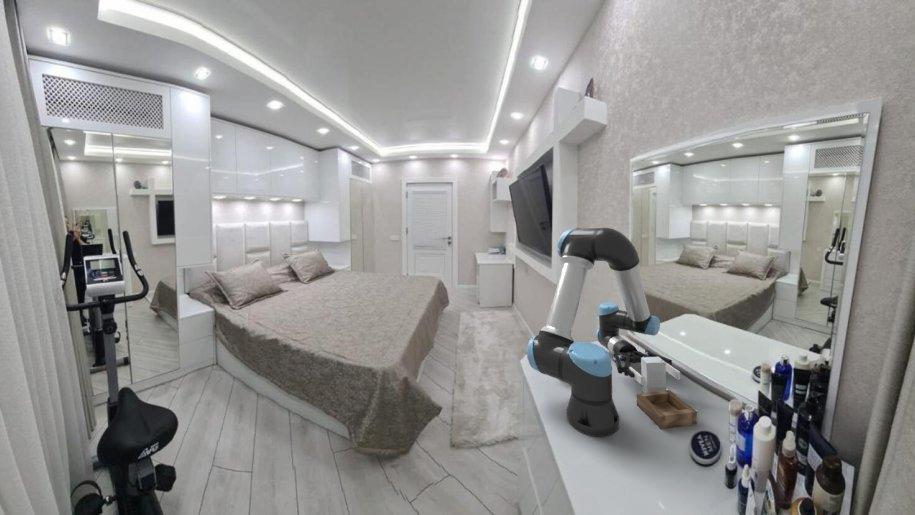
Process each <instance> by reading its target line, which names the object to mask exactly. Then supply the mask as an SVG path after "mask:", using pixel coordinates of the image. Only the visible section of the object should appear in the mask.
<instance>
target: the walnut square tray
mask: <svg viewBox="0 0 915 515" xmlns="http://www.w3.org/2000/svg"><path fill="white" fill-rule="evenodd" d="M636 406H637V408H639V409H640V410H641V411H642V413H644V414H645V415H646V417H648V418H649V419H650V420H651V421H652V422H653V423H654V424H655V425H656V426H657V427H658V428H659V429H660V430H663V429H670V428H676V427H677V428H678V427H685V426H693V425H697V424H698V411H697V410H696V409H695V408H693V407H692V406H690V404H688V403H687V402H686V401H684V400H683V399H682V398H681V397H679V396H678V395H677V394H675V393H674V392H673V391H672V390H670V389H666V390H665V391H657V392H649V393H645V392H644V393H637V394H636Z"/></svg>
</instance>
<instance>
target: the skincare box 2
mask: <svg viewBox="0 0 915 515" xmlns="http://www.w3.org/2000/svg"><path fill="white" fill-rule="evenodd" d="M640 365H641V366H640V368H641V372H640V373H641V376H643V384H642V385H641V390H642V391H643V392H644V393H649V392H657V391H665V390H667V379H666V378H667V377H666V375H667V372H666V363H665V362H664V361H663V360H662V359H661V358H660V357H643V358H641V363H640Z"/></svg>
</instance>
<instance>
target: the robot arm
mask: <svg viewBox="0 0 915 515" xmlns="http://www.w3.org/2000/svg"><path fill="white" fill-rule="evenodd" d="M557 248H558V249H557V253H558V256H559V258H560V259H559V260H560V262H561V263H562V268H561V272H560V274H559V278H558V282H557V286H556V289H555V291H554V295H553V296H554V297H553V299H552V302H551V307H550V309H549V312H548V316H547V319H546V324H545V326H543V327H544V328H543V327H542V328H540V329H539V331H538V334H536V335H533V336H532V337H531V338H530V339H529V341H528V343H527V348H526V358H527V361H528V364H529V366H530V367H531V368H532V370H535V371H537V372H539V374H543V375H546V376H549V377H552V378H554V379H557V380H560V381H562V382H564V383H567V384H569V385H570V391H571V394H570V397H569V400H568V401H567V406H566V419H567V422H568V423H569V425H570V426H572V428H574V429H575V430H577V431H578V432H580V433H583V434H584V435H588V436H593V437H607V436H611V435H613V434H615V433H616V432H617V431H619V428H620V424H621V422H620V414H619V412H618V410H617V407H616V404H615V401H614V400H613V366H612V361H613V362H614V363H615V366H616V368H617V373H618V374H621V375H622V373H623V374H624V376H626V377H628V376H629V378H631V379H634V380H635V381H636V382H637V383H638V384H639V385H640V386H642V384H643V376H642V374H640V373H639V372H638V371H637V370H635V368H633V367H632V366H631V364H637V363H639V364H641V358H643V357H660V358H661V359H662V360H663V361H664V362H665V363H666V373H668V374H669V375H671V376H673V378H675V379H676V380H681V371H680V370H678V369H676V367H675V366H673V360H672V359H670V358H667V357H665V356H663V355H659V354H656V353H654V352H652V351H650V350H644V351H643V352H642V351H639V350H638V349H637V348H636V347H635V345H633V344H632V343H630V341H628V340H627V339H625V338H624V337H622V336H620V329H621V330H624V331H629V332H633V333H636V334H637V333H638V334H641V335H648V336H654V337H655V336H656V335H658V333H659V331H660V329H661V328H660V327H661V321H660V318H659V317H658V316H655V315H652V314H651V312H650V308H649V304H648V302H647V301H648V300H647V297H646V293H645V290H644V286H643V282H642V278H641V275H640V271H639V267H638V266H639V264H640V258H639V253H638V251H637V249H636V247H635V245H634V244H633V243H632V241H631V240H630V239H629V238H628V237H627V236H626V235H624V234H623V233H622V232H621V231H619V230H616V229H614V228H611V227H595V228H594V227H593V228H591V227H589V228H588V227H587V228H586V227H585V228H582V227H581V228H580V227H576V228H569V229H567V230H565V231H564V232H563V233H561V235H560V237H559V239H558V241H557ZM598 261H599V262H606V263H607V264H608V267H609V268H610V270H612V271H613V272H614V275H615V279H616V281H617V285H618V287H619V291H620V294H621V298H622V300H623V303H624V307H625V310H626V311H625V310H620V307H619V305H618V304H616V303H614V302H602V303H601V304H600V305H599V307H598V324H599V327H598V328H597V330H596V332H595V334H594V336H595V339H596V340H597V342H598V343H599V344H600V345H601V346H603V347H601V346H600V345H598V344H595V343H592V342H588V341H585V342H583V341H576V342H575V340H574V339H573V336H572V332H573V328H574V323H575V320H576V316H577V312H578V309H579V305H580V301H581V297H582V293H583V290H584V286H585V283H586V279H587V278H586V277H587V275H588V271H589V270H592V269H594V266H595V262H598ZM604 347H605V348H606V349H607V350H608V351H609V352H611V354H612V357H613V359H611V356H610V354H609V352H608V351H607V350H606V349H605V348H604ZM622 362H623V363H624V366H623V365H622Z"/></svg>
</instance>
